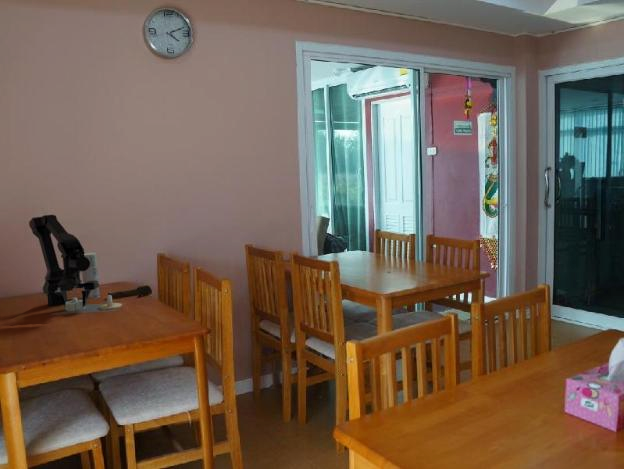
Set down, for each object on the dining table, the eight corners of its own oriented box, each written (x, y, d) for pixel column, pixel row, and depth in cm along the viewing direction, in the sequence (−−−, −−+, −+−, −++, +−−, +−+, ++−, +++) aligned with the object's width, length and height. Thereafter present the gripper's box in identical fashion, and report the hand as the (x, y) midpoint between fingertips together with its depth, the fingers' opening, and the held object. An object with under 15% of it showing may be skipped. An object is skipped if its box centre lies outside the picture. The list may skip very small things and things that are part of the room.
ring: (63, 311, 227) (62, 304, 226) (70, 307, 233) (69, 300, 233) (80, 310, 227) (80, 303, 226) (87, 306, 233) (86, 299, 233)
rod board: (58, 316, 223) (57, 301, 222) (72, 307, 237) (71, 293, 236) (116, 313, 223) (114, 298, 223) (126, 304, 237) (125, 290, 237)
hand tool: (109, 302, 244) (108, 292, 244) (107, 301, 248) (106, 290, 247) (153, 295, 254) (152, 285, 253) (151, 294, 257) (150, 284, 257)
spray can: (96, 299, 251) (92, 254, 248) (82, 300, 251) (77, 255, 248) (102, 296, 257) (98, 252, 255) (87, 296, 257) (83, 253, 255)
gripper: (39, 274, 220) (43, 313, 222) (87, 271, 220) (91, 310, 222) (51, 268, 231) (55, 306, 233) (97, 266, 231) (101, 304, 233)
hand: (75, 307), depth 230 cm, fingers closed on ring, 7 cm apart
